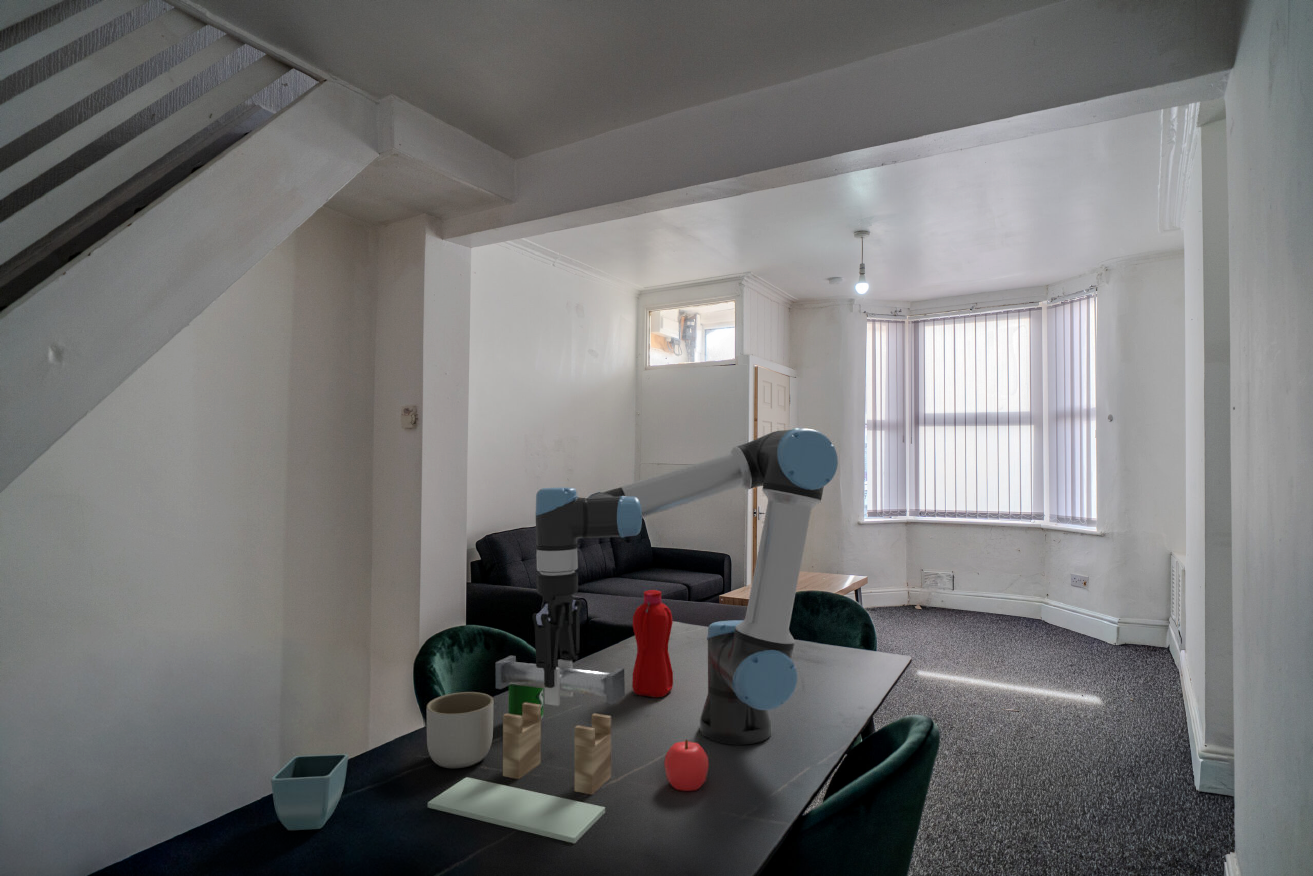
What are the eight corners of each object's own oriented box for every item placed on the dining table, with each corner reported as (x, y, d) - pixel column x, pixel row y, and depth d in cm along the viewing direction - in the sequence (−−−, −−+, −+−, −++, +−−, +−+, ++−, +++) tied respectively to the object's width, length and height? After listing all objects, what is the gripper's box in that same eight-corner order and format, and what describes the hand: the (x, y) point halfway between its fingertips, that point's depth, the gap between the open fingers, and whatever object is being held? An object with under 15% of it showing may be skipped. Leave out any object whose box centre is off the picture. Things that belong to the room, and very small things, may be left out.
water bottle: (625, 698, 168) (625, 594, 169) (643, 684, 178) (642, 586, 179) (660, 703, 165) (660, 596, 165) (676, 688, 175) (676, 588, 176)
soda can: (535, 730, 148) (535, 673, 149) (502, 727, 150) (503, 671, 150) (548, 717, 156) (548, 663, 156) (516, 714, 157) (516, 661, 157)
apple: (664, 775, 127) (664, 731, 127) (708, 775, 127) (707, 731, 127) (663, 796, 119) (663, 749, 119) (710, 796, 119) (709, 749, 119)
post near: (611, 777, 126) (611, 716, 126) (592, 794, 120) (592, 730, 120) (594, 773, 128) (594, 713, 128) (574, 791, 121) (574, 727, 121)
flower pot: (293, 810, 115) (294, 755, 115) (348, 807, 115) (349, 753, 116) (268, 839, 106) (269, 779, 106) (328, 836, 107) (329, 777, 107)
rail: (624, 695, 124) (624, 668, 125) (612, 704, 120) (612, 676, 120) (510, 680, 134) (510, 655, 134) (495, 688, 130) (495, 662, 130)
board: (605, 812, 114) (605, 807, 114) (574, 843, 104) (574, 838, 104) (466, 781, 125) (466, 777, 125) (427, 807, 115) (427, 802, 115)
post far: (540, 763, 132) (540, 704, 132) (519, 779, 125) (519, 717, 126) (525, 760, 133) (525, 702, 134) (502, 776, 127) (503, 715, 127)
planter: (432, 780, 125) (432, 718, 126) (421, 754, 136) (421, 698, 137) (500, 765, 131) (500, 707, 131) (484, 742, 142) (484, 688, 142)
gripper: (563, 563, 137) (565, 683, 136) (513, 578, 121) (515, 713, 121) (597, 565, 134) (599, 687, 133) (550, 580, 118) (552, 719, 118)
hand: (559, 699), depth 127 cm, fingers closed on rail, 4 cm apart
